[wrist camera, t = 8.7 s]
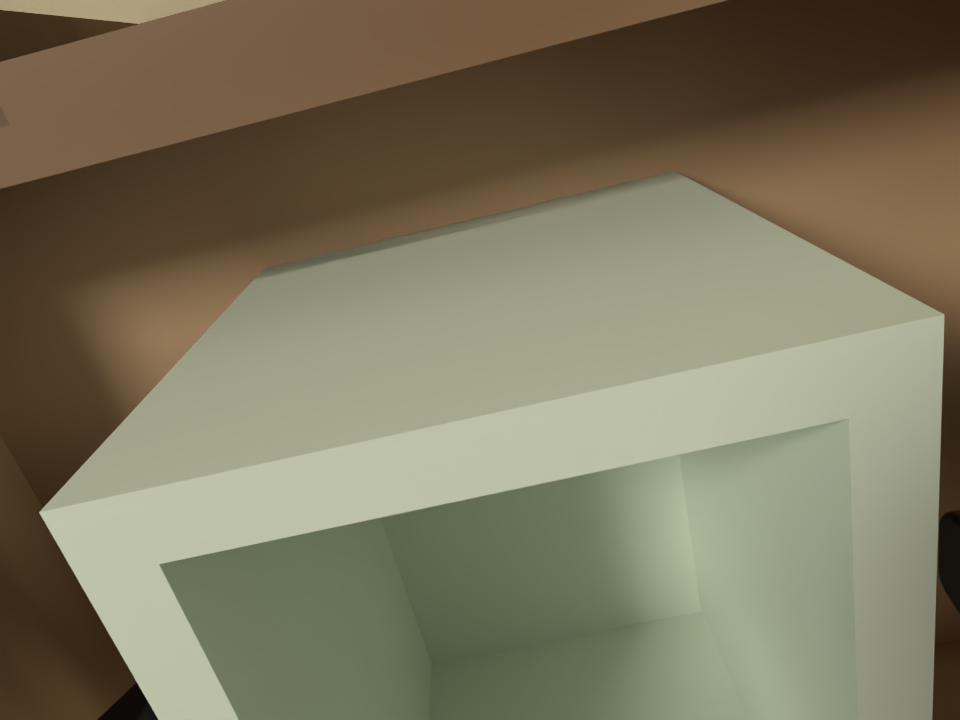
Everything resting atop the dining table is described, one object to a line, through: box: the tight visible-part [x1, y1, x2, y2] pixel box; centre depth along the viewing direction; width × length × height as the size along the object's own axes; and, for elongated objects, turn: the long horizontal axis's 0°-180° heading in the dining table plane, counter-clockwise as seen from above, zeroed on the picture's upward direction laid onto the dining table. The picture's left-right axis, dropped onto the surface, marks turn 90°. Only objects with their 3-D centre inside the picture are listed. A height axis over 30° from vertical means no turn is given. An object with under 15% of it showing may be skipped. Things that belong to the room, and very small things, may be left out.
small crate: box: [39, 171, 944, 720], centre depth 9 cm, size 8×6×6 cm
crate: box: [0, 0, 960, 720], centre depth 10 cm, size 14×18×4 cm
